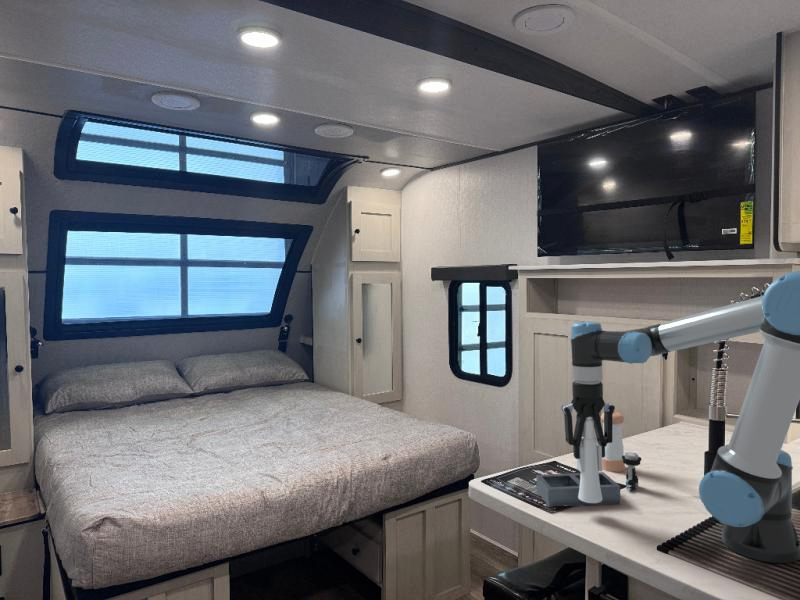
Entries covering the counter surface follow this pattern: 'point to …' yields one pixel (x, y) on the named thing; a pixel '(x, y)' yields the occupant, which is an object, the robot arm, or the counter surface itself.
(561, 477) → the square-hole rail
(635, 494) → the counter surface
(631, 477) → the push button
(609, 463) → the pepper shaker
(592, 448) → the cosmetic bottle
